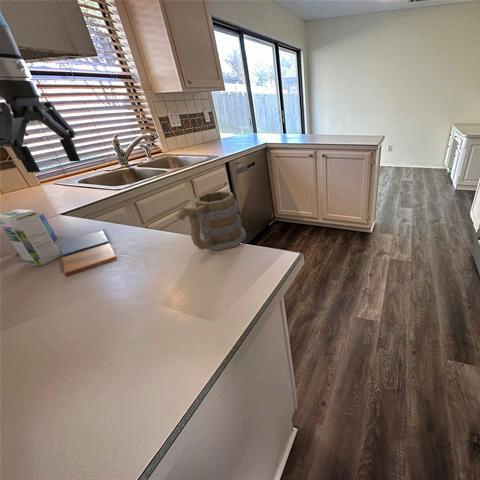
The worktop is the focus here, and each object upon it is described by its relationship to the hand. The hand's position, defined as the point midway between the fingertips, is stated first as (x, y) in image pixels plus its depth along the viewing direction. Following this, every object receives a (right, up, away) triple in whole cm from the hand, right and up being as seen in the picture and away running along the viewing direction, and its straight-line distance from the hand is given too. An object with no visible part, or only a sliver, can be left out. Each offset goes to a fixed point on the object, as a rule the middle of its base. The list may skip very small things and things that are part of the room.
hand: (56, 166), depth 76 cm
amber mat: (+12, -27, -2) cm, 29 cm away
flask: (-11, -22, +9) cm, 26 cm away
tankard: (+45, -23, +3) cm, 51 cm away
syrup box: (-2, -27, -1) cm, 27 cm away
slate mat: (+3, -23, +6) cm, 24 cm away
